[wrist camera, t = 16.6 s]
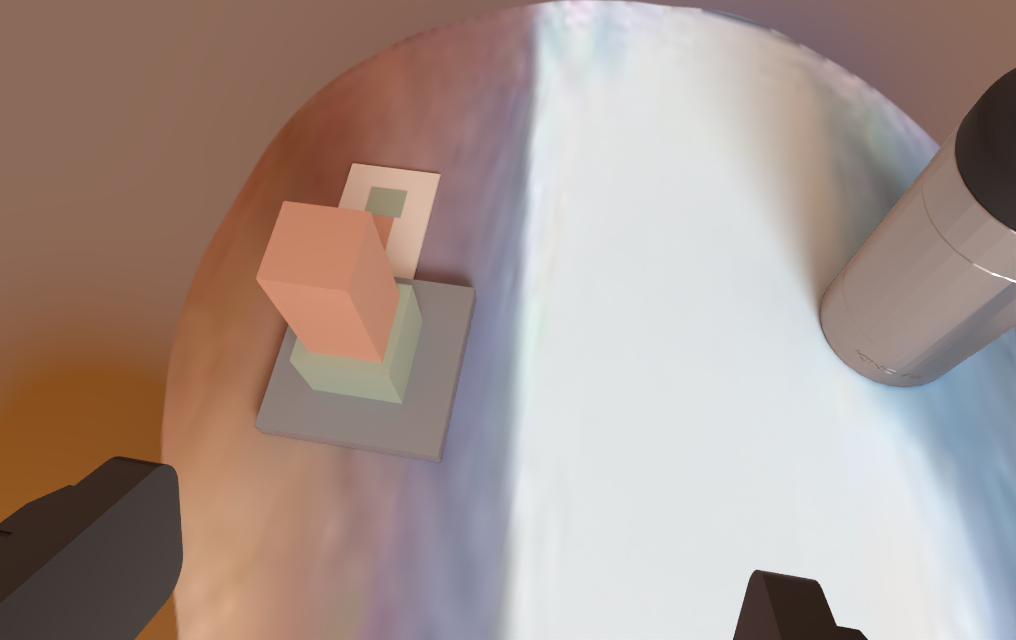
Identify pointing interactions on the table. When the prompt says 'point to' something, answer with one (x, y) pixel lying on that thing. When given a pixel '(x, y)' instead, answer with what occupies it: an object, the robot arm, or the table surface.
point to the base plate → (377, 422)
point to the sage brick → (366, 375)
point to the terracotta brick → (331, 280)
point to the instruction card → (394, 209)
